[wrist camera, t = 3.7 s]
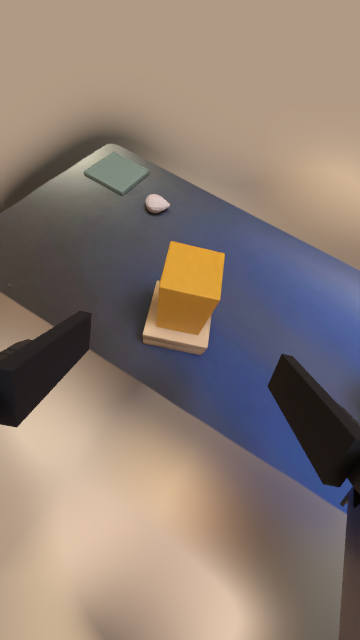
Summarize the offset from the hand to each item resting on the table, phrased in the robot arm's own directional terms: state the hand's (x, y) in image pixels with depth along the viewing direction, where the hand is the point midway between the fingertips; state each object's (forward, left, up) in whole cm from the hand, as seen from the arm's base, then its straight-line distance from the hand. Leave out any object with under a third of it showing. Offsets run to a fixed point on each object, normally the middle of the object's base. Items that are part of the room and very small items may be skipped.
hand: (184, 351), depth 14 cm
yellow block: (+4, +9, -13) cm, 16 cm away
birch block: (+4, +9, -17) cm, 20 cm away
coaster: (-1, +46, -17) cm, 49 cm away
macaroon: (+6, +35, -17) cm, 39 cm away
